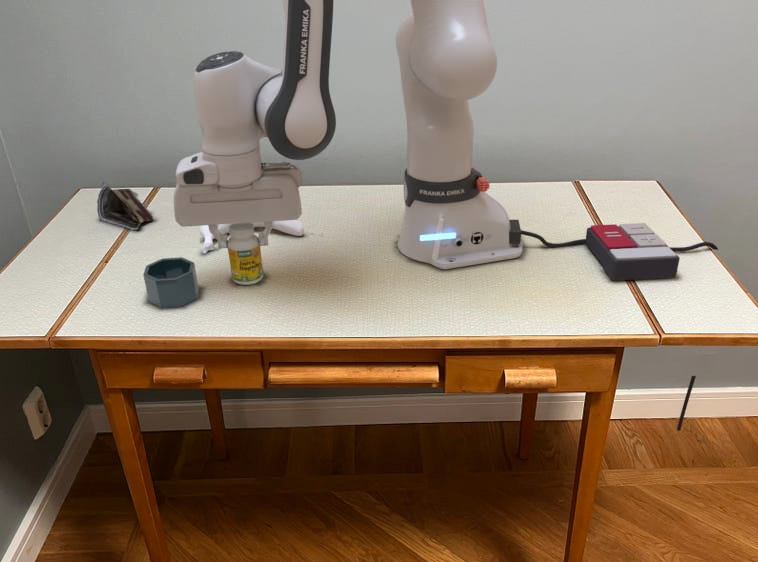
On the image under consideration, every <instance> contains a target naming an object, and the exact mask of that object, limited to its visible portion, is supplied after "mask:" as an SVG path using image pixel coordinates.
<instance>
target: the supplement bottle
mask: <svg viewBox="0 0 758 562" xmlns="http://www.w3.org/2000/svg"><path fill="white" fill-rule="evenodd" d="M228 234H229V236H230V237H228V238H227V240H228V242H227V246H228V248H227V252H228V253H227V254H228V258H229V259H228V261H229V265H230V273H231V279H232V281H233V282H234V283H235V284H238V285H243V286H249V285H254V284H257V283H258V282H261V280H262V279H263V278H264V267H263V259H262V250H261V246H259V238H258V236H257V234H255V227H254V226H253V224H252V223H236V224H232V225H230V226H229V233H228Z"/></svg>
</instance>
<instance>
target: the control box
mask: <svg viewBox="0 0 758 562" xmlns="http://www.w3.org/2000/svg"><path fill="white" fill-rule="evenodd" d="M585 239H586V243H585V245H587V247H588V249H590V251H591V252H592V254H593V255H594V256H595V258H596V259H597V260H598V261H599V262H600V263H601V264H602V265H601V266H603V270H604V272H605V274H606V275H607V276H608V277H609V278H610V280H611V281H630V280H631V281H632V280H633V281H634V280H649V279H650V280H651V279H653V280H654V279H670V278H671V279H672V278H676V277H677V273H678V268H679V263H680V258H681V257H680V256H679V255H678V254H676V252H673V251H672V250H671V249H670V248H669V246H668V245H667V242H665V240H663V239H662V238H661V237H660V236H659V235H658V234H656V233H655V231H654V230H653V229H652V228H651V227H650V226H649V225H647V223H645V222H637V223H633V222H632V223H620V224H619V225H617V224H614V223H613V224H595V225H594V224H593V225H590V227H587V228H586V232H585Z"/></svg>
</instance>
